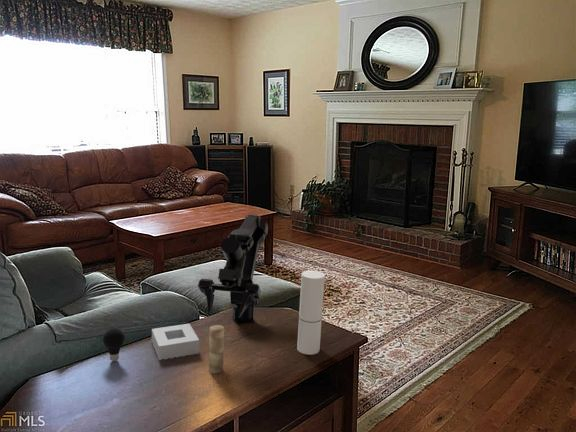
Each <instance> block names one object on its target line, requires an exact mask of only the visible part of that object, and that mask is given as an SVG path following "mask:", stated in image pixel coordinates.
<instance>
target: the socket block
mask: <svg viewBox="0 0 576 432" xmlns="http://www.w3.org/2000/svg"><path fill="white" fill-rule="evenodd" d="M151 343H153V344H152V345H153V348H155V349H154V352H155V353H156V356H157V358H158V361H163V360H162V359H164V360H168V358H170V359H174V357H176V358H180V356H181V357H187V356H193V355H198V354H200V339H199V337H198V335H197V334H196V332H195V331H194V329H193V327H192V325H191V324H190V323H184V324H178V325H177V324H176V325H169V326H163V327H156V328H152V329H151ZM186 355H187V356H186Z"/></svg>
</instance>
